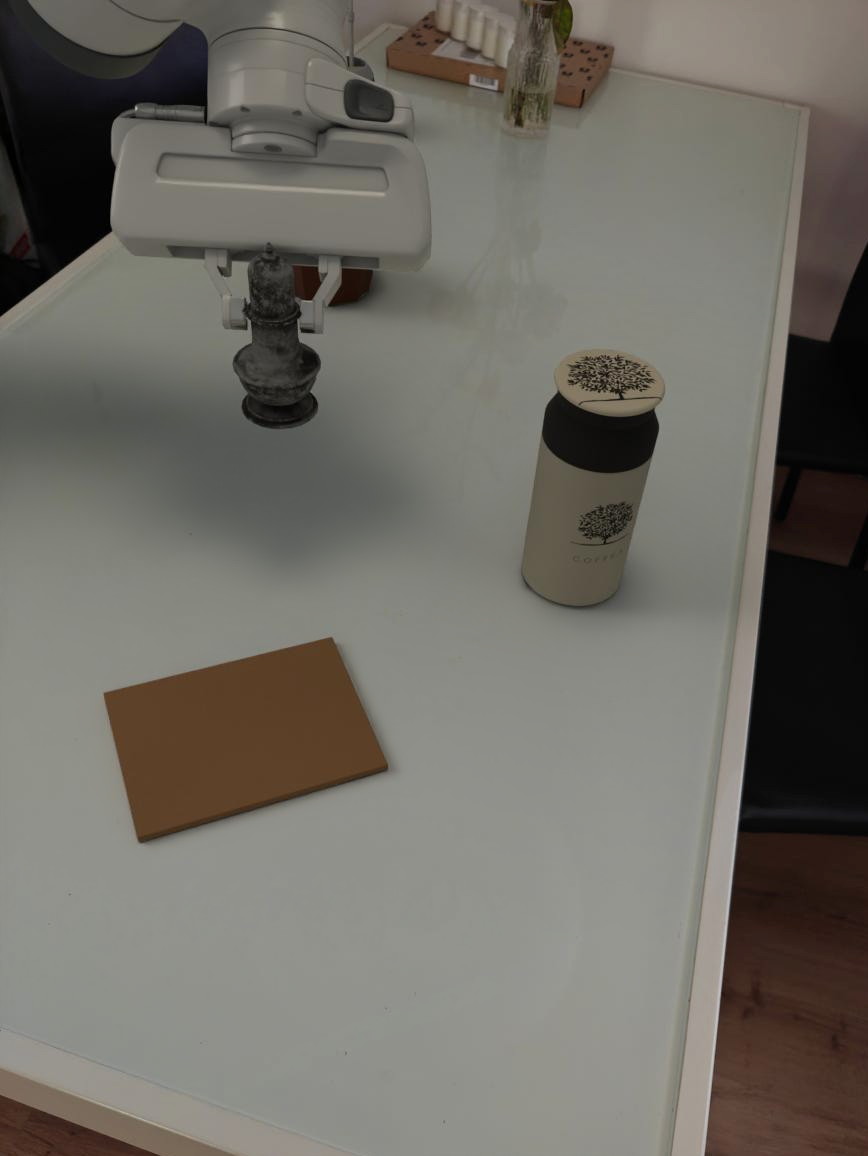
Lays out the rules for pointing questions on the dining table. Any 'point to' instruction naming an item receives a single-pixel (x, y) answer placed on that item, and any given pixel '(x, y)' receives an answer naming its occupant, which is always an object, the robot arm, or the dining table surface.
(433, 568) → the dining table surface
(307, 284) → the muffin
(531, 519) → the travel mug
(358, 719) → the cork mat
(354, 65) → the mate gourd
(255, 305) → the salt shaker
